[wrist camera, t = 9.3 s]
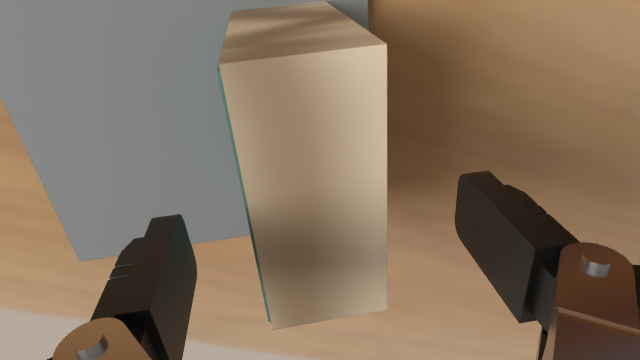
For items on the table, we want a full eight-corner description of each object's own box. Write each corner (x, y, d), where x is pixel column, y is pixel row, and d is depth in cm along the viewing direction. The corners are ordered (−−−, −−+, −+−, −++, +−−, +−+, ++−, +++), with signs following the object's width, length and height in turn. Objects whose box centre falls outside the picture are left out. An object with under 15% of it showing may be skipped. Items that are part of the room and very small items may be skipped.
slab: (325, 0, 18) (387, 44, 10) (337, 182, 22) (387, 309, 14) (228, 11, 17) (214, 64, 10) (261, 194, 22) (269, 330, 14)
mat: (363, -71, 17) (366, -72, 17) (370, 210, 24) (372, 215, 24) (-54, -34, 16) (-62, -33, 15) (83, 255, 23) (79, 261, 22)
